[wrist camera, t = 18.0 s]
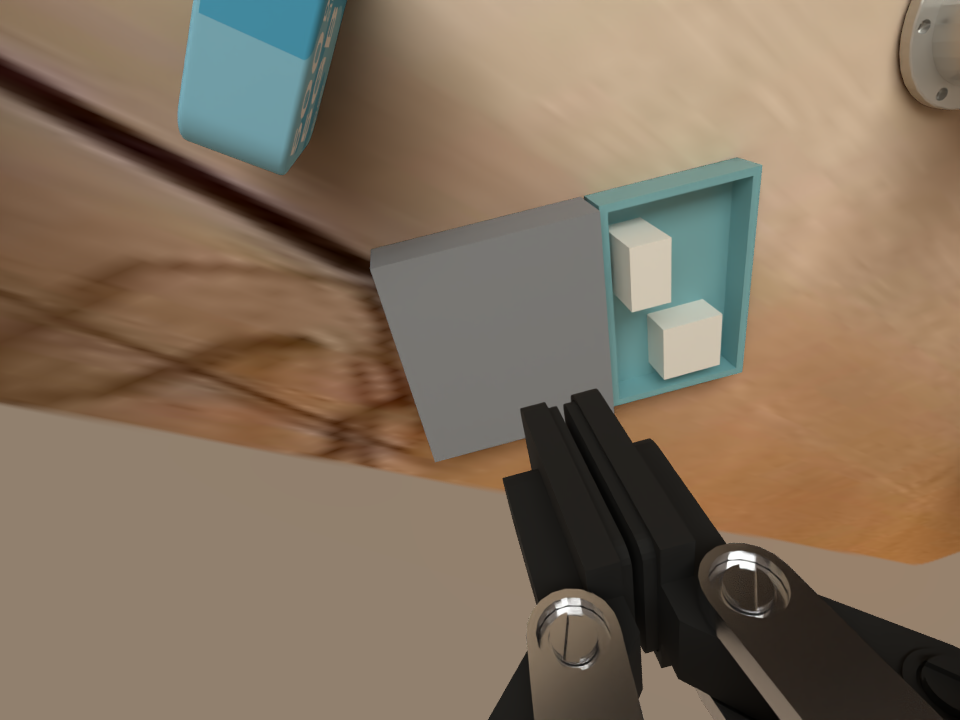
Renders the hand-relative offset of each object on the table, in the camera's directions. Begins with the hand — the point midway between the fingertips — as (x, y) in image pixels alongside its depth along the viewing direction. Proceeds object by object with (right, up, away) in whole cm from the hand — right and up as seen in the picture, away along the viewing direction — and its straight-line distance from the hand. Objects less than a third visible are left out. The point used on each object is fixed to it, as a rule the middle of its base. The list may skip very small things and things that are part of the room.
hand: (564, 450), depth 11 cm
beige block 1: (+8, +9, +27) cm, 30 cm away
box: (+13, +8, +32) cm, 36 cm away
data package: (-13, +22, +19) cm, 32 cm away
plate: (0, +5, +32) cm, 32 cm away
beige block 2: (+16, +3, +32) cm, 35 cm away
